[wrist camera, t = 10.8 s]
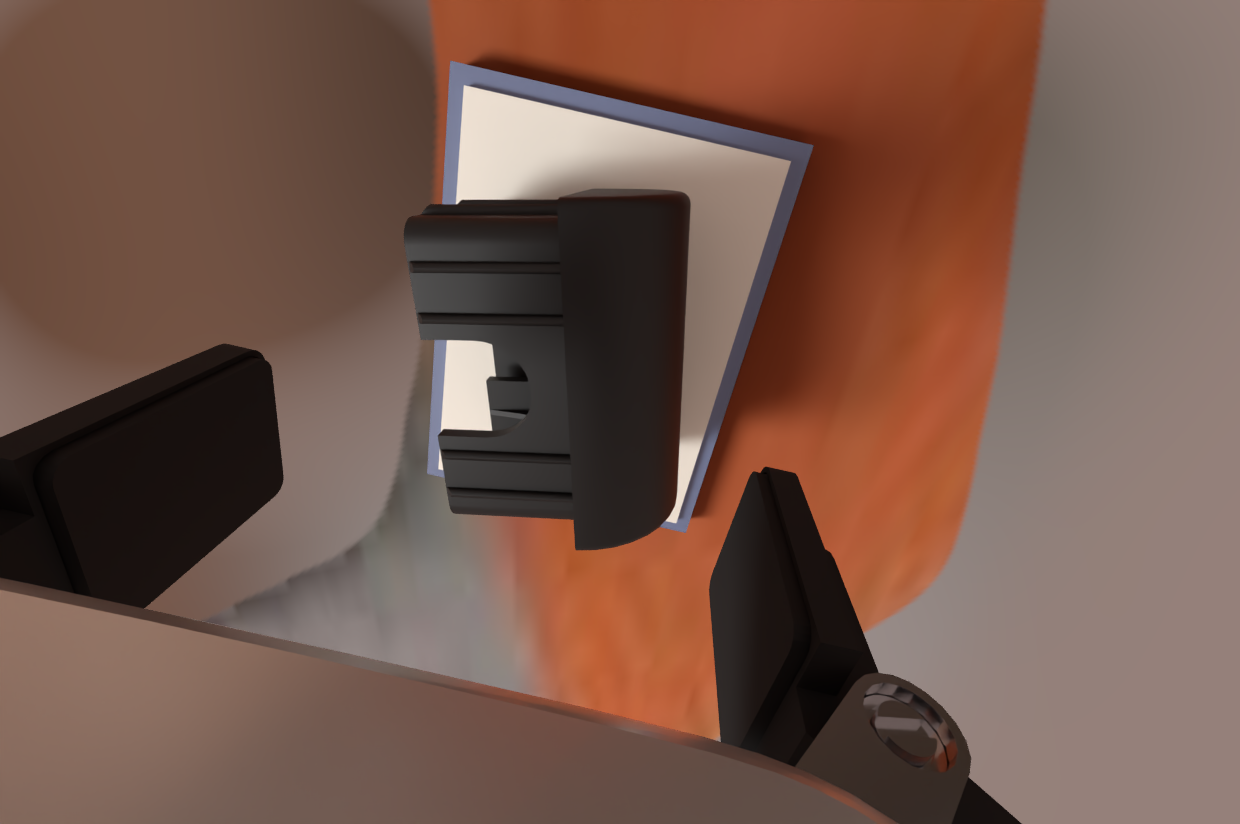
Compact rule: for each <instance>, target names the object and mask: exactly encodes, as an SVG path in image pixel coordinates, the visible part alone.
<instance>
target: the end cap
mask: <svg viewBox="0 0 1240 824" xmlns="http://www.w3.org/2000/svg"><path fill="white" fill-rule="evenodd" d="M690 209H691V202H690V198H689V197H688V195H687V194H685V193H683V192H681V191H673V190H658V189H589V190H585V191H581V192H577V193H573V194H569V195H565V196H561V197H559V198H558V199H545V200H461V201H460V202H459V203H458V204H430V205H429V206H427V207H426V209H425V210H424V211H423V212H422V214H420V215H415V216H411V217H409V218H408V220H407V222H406V224H405V228H404V244H405V250H406V256H407V262H408V268H409V274H410V279H411V285H412V291H413V297H414V302H415V308H416V314H417V320H418V326H419V332H420V337H421V340H461V341H480V342H486V343H489V344H492V347H493V356H494V365H495V373H496V376H490V377H489V378H488V379H487V380H486V384H487V392H488V401H489V409H490V417H491V425H492V431H486V430H459V429H443V430H442V431H441V432H440V433H439V435H438V442H439V447H440V453H441V459H442V465H443V471H444V476H445V482H446V488H447V494H448V500H449V505H450V509H451V511H452V512H453V513H455V514H472V515H492V516H512V517H531V518H551V519H571V520H574V533H575V549H576V550H599V549H606V548H613V547H617V546H621V545H624V544H628V543H631V542H633V541H636V540H638V539H640V538H642V537H645V536H647V535H648V534H650V533H651V532H653V531H654V530H656V529H657V528H659V527H660V526H661V525H662V524H663V523H664V522H665V521H666V520H667V519H668V517H669V516H670V514H671V513H672V511H673V509H674V507H675V504H676V498H677V488H678V466H679V445H680V424H681V402H682V381H683V359H684V338H685V316H686V295H687V273H688V252H689V231H690Z"/></svg>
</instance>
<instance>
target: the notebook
mask: <svg viewBox="0 0 1240 824" xmlns="http://www.w3.org/2000/svg"><path fill="white" fill-rule="evenodd" d="M813 146H814V145H810V144H806V143H802V142H797V141H793V140H789V139H784V138H780V137H776V136H772V135H767V134H763V133H759V132H754V131H750V130H746V129H741V128H737V127H733V126H729V125H724V124H720V123H716V122H711V121H707V120H703V119H699V118H694V117H690V116H686V115H681V114H677V113H673V112H668V111H664V110H660V109H656V108H651V107H647V106H643V105H638V104H634V103H630V102H625V101H621V100H617V99H613V98H608V97H604V96H600V95H595V94H591V93H587V92H582V91H578V90H574V89H570V88H565V87H561V86H557V85H552V84H548V83H544V82H539V81H535V80H531V79H527V78H522V77H518V76H514V75H509V74H505V73H501V72H496V71H492V70H488V69H484V68H479V67H475V66H471V65H466V64H462V63H458V62H454V61H450V76H449V94H448V112H447V130H446V148H445V166H444V183H443V201H442V204H458V203H459V202H460V201H461V200H545V199H558V198H559V197H561V196H565V195H569V194H573V193H577V192H581V191H585V190H589V189H658V190H673V191H681V192H683V193H685V194H687V195H688V197H689V198H690V202H691V209H690V231H689V252H688V273H687V295H686V316H685V338H684V359H683V381H682V402H681V424H680V445H679V466H678V488H677V498H676V504H675V507H674V509H673V511H672V513H671V514H670V516H669V517H668V519H667V520H666V521H665V522H664V523H663V524H662V525H661V526H660V527H663V528H667V529H671V530H676V531H680V532H684V533H686V530H687V527H688V524H689V521H690V518H691V515H692V512H693V509H694V506H695V503H696V500H697V497H698V494H699V491H700V488H701V485H702V482H703V479H704V476H705V473H706V470H707V467H708V464H709V461H710V458H711V455H712V452H713V449H714V446H715V443H716V440H717V437H718V434H719V430H720V427H721V424H722V421H723V418H724V415H725V412H726V409H727V406H728V403H729V400H730V397H731V394H732V391H733V388H734V385H735V382H736V379H737V376H738V373H739V370H740V367H741V364H742V361H743V358H744V355H745V352H746V349H747V346H748V343H749V340H750V337H751V334H752V331H753V328H754V325H755V322H756V319H757V316H758V313H759V309H760V306H761V303H762V300H763V297H764V294H765V291H766V288H767V285H768V282H769V279H770V276H771V273H772V270H773V267H774V264H775V261H776V258H777V255H778V252H779V249H780V246H781V243H782V240H783V237H784V234H785V231H786V228H787V225H788V222H789V219H790V216H791V213H792V210H793V207H794V204H795V201H796V198H797V195H798V191H799V188H800V185H801V182H802V179H803V176H804V173H805V170H806V167H807V164H808V161H809V158H810V155H811V152H812V149H813ZM490 376H496V373H495V365H494V356H493V347H492V344H489V343H486V342H480V341H461V340H435V345H434V363H433V381H432V399H431V417H430V434H429V452H428V470H427V474H431V475H435V476H440V477H444V478H445V476H444V471H443V465H442V459H441V453H440V447H439V442H438V435H439V433H440V432H441V431H442V430H443V429H459V430H486V431H492V425H491V417H490V409H489V401H488V392H487V384H486V380H487V379H488V378H489V377H490Z"/></svg>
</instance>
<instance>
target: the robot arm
mask: <svg viewBox="0 0 1240 824" xmlns="http://www.w3.org/2000/svg"><path fill="white" fill-rule="evenodd" d="M282 484H283V467H282V458H281V449H280V439H279V430H278V422H277V412H276V403H275V394H274V384H273V375H272V369H271V365H270V364H269V362H267V361H266V360H265V359H264V357H263V355H262V354H261V353H260V352H258V351H256V350H251V349H247V348H243V347H238V346H234V345H230V344H221V345H218V346H215V347H213V348H211V349H208V350H206V351H204V352H201V353H199V354H196V355H194V356H192V357H190V358H187V359H185V360H182V361H180V362H177V363H175V364H173V365H171V366H168V367H166V368H163V369H161V370H159V371H156V372H154V373H151V374H149V375H147V376H144V377H142V378H140V379H137V380H135V381H133V382H130V383H128V384H125V385H123V386H121V387H118V388H116V389H114V390H111V391H109V392H107V393H104V394H102V395H99V396H97V397H95V398H92V399H90V400H88V401H85V402H83V403H81V404H78V405H76V406H73V407H71V408H69V409H66V410H64V411H62V412H59V413H57V414H55V415H52V416H50V417H47V418H45V419H43V420H40V421H38V422H36V423H33V424H31V425H29V426H26V427H24V428H22V429H19V430H17V431H14V432H12V433H10V434H7V435H5V436H3V437H0V824H1021V823H1020V822H1019V821H1018V820H1017V819H1016V818H1015V817H1013V816H1012V815H1011V814H1010V813H1009V812H1008V811H1007V810H1005V809H1004V808H1003V807H1002V806H1001V805H1000V804H999V803H997V802H996V801H995V800H994V799H993V798H992V797H991V796H989V795H988V794H987V793H985V791H984V790H982V789H981V788H980V787H979V786H978V785H977V784H976V783H974V782H973V781H972V780H971V779H970V778H969V773H970V766H971V756H970V752H969V749H968V746H967V742H966V740H965V738H964V736H963V734H962V732H961V731H960V729H959V727H958V725H957V724H956V722H955V721H954V720H953V719H952V718H951V716H950V715H949V714H948V713H947V712H946V710H945V709H944V708H943V707H942V706H941V705H940V704H939V703H938V702H937V701H935V700H934V699H933V698H932V697H931V696H930V695H929V694H927V693H926V692H925V691H923V690H922V689H920V688H918V687H917V686H915V685H914V684H912V683H910V682H909V681H906V680H904V679H901V678H899V677H896V676H894V675H890V674H883V673H879V672H878V669H877V667H876V664H875V662H874V659H873V657H872V654H871V652H870V649H869V647H868V644H867V642H866V639H865V636H864V634H863V631H862V629H861V626H860V624H859V621H858V618H857V616H856V613H855V611H854V608H853V606H852V603H851V601H850V598H849V595H848V593H847V590H846V588H845V585H844V583H843V580H842V578H841V575H840V572H839V570H838V567H837V565H836V562H835V560H834V558H833V556H832V554H831V553H830V552H829V551H827V550H825V548H824V545H823V543H822V540H821V537H820V535H819V532H818V530H817V527H816V524H815V522H814V519H813V516H812V514H811V511H810V508H809V506H808V503H807V500H806V498H805V495H804V492H803V490H802V487H801V485H800V482H799V479H798V477H797V475H796V474H795V473H792V472H788V471H783V470H779V469H774V468H770V467H765V468H763V470H762V471H761V473H758V472H752V474H751V475H750V477H749V480H748V482H747V485H746V487H745V490H744V493H743V495H742V498H741V500H740V503H739V506H738V508H737V511H736V513H735V516H734V519H733V521H732V524H731V526H730V529H729V532H728V534H727V537H726V539H725V542H724V544H723V547H722V550H721V552H720V555H719V557H718V560H717V563H716V565H715V568H714V570H713V573H712V576H711V580H710V588H709V596H710V608H711V621H712V634H713V647H714V660H715V672H716V685H717V698H718V711H719V724H720V736H721V742H719V741H715V740H712V739H709V738H705V737H702V736H698V735H694V734H690V733H686V732H682V731H678V730H673V729H669V728H665V727H661V726H657V725H653V724H649V723H645V722H641V721H637V720H633V719H629V718H625V717H621V716H617V715H613V714H609V713H605V712H601V711H597V710H593V709H588V708H584V707H580V706H575V705H571V704H567V703H562V702H558V701H554V700H549V699H545V698H540V697H536V696H532V695H527V694H523V693H519V692H514V691H510V690H506V689H501V688H497V687H492V686H488V685H484V684H479V683H475V682H471V681H466V680H462V679H458V678H453V677H449V676H444V675H440V674H436V673H431V672H427V671H423V670H418V669H414V668H409V667H405V666H400V665H396V664H391V663H387V662H383V661H378V660H374V659H369V658H365V657H360V656H356V655H351V654H347V653H342V652H338V651H334V650H329V649H325V648H320V647H316V646H311V645H307V644H302V643H298V642H293V641H289V640H284V639H280V638H275V637H271V636H266V635H262V634H257V633H253V632H248V631H244V630H239V629H235V628H230V627H226V626H221V625H217V624H212V623H208V622H203V621H199V620H194V619H189V618H184V617H180V616H175V615H171V614H166V613H162V612H157V611H153V610H148V609H144V608H145V607H146V606H148V605H149V604H150V603H151V602H152V601H154V600H155V599H156V598H157V597H158V596H159V595H160V594H162V593H163V592H164V591H165V590H166V589H167V588H169V587H170V586H171V585H172V584H173V583H174V582H176V581H177V580H178V579H179V578H180V577H181V576H182V575H184V574H185V573H186V572H187V571H188V570H190V569H191V568H192V567H193V566H194V565H195V564H196V563H198V562H199V561H200V560H201V559H202V558H203V557H205V556H206V555H207V554H208V553H209V552H210V551H212V550H213V549H214V548H215V547H216V546H217V545H218V544H220V543H221V542H222V541H223V540H224V539H226V538H227V537H228V536H229V535H230V534H231V533H233V532H234V531H235V530H236V529H237V528H238V527H239V526H241V525H242V524H243V523H244V522H245V521H246V520H248V519H249V518H250V517H251V516H252V515H253V514H255V513H256V512H257V511H258V510H259V509H260V508H262V507H263V506H264V505H265V504H266V503H267V502H268V501H270V500H271V499H272V498H273V497H274V496H275V495H276V494H277V493H278V492H279V490H280V489H281V486H282Z"/></svg>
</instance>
